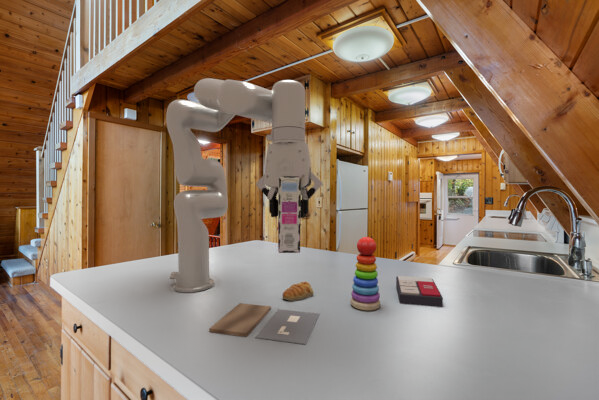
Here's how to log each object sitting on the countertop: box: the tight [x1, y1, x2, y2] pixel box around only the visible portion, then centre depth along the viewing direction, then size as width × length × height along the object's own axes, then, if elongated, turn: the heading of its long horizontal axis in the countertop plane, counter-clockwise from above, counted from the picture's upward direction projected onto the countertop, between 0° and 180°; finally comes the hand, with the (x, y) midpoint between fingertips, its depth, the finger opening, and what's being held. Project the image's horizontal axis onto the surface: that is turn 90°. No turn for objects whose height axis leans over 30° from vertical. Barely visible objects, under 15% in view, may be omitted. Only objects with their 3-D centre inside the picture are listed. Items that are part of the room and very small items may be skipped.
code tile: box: [254, 308, 320, 345], centre depth 68 cm, size 11×15×1 cm
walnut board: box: [208, 302, 272, 338], centre depth 71 cm, size 9×15×1 cm, turn 165°
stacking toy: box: [349, 236, 381, 312], centre depth 79 cm, size 8×8×19 cm
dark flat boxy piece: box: [395, 275, 444, 308], centre depth 86 cm, size 11×4×15 cm
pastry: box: [282, 281, 315, 302], centre depth 86 cm, size 9×7×4 cm
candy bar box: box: [277, 176, 302, 254], centre depth 67 cm, size 11×5×16 cm, turn 5°
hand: (288, 216), depth 67 cm, fingers closed on candy bar box, 6 cm apart
